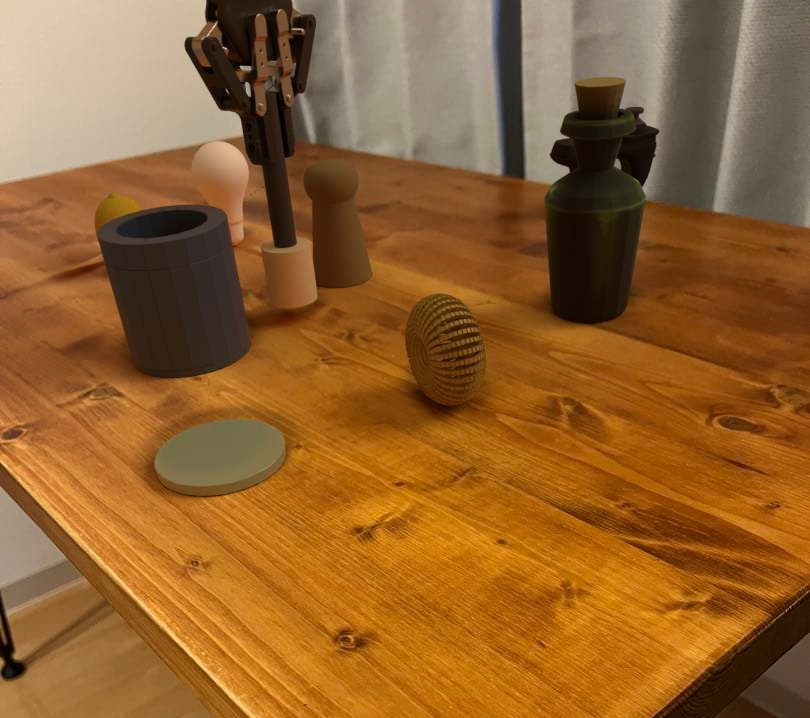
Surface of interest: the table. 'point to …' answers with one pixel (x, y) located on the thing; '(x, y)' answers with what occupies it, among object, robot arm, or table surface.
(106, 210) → the lemon
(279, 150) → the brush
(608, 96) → the potion bottle
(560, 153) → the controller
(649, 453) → the table surface
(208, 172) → the lightbulb
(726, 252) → the table surface
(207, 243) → the jar
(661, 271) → the table surface
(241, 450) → the coaster
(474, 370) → the sculpture
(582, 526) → the table surface
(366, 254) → the cork
